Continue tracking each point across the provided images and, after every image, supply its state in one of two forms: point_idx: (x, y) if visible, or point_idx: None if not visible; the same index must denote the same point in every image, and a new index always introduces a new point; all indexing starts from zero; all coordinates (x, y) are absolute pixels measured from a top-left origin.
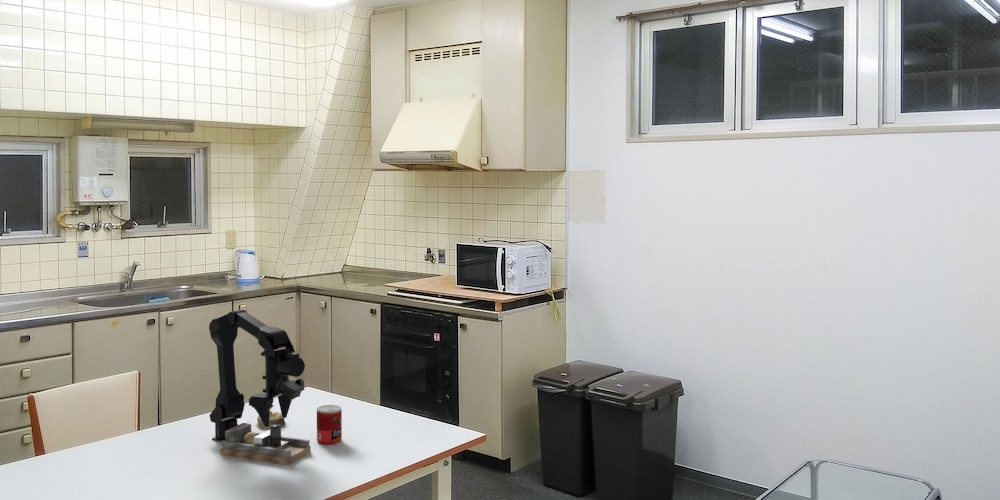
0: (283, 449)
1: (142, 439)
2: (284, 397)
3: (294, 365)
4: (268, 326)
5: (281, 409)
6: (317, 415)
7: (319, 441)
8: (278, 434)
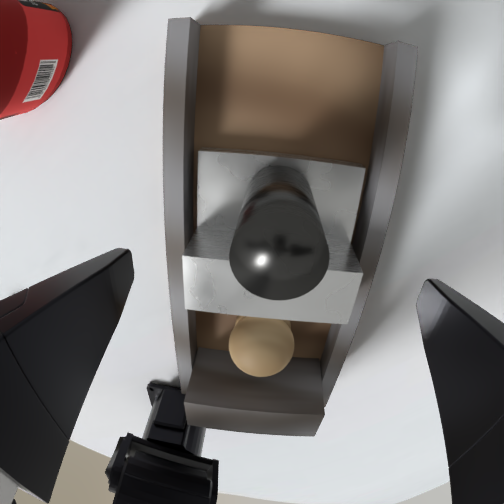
0: (393, 94)
1: (262, 486)
2: (7, 436)
3: None
4: None
5: (102, 344)
6: None
7: (63, 68)
8: (301, 194)
